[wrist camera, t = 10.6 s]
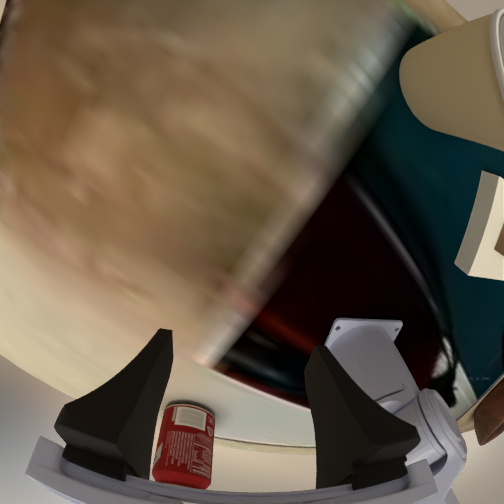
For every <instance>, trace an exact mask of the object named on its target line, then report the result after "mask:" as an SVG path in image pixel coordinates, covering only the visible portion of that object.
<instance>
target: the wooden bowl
mask: <svg viewBox="0 0 504 504" xmlns="http://www.w3.org/2000/svg"><path fill="white" fill-rule="evenodd" d="M474 427H475V432H476V435H477V439H478V442H479V445H484V444H486V443H488V442H489V441H491V440H493V439H494V438H496V437H497V436H498V435H499V434H501V433H502V432H503V431H504V379H503V380H502V381H501V382H500V383H499V384H498V385H497V386H496V387H495V388H494V389H493V391H492V392H491V393H490V394H489V395H488V396H487V397H486V398H485V399H484V400H483V402H482V403H481V404H480V405H479V407H478V408H477V410H476V412H475V416H474Z"/></svg>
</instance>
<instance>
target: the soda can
mask: <svg viewBox="0 0 504 504" xmlns="http://www.w3.org/2000/svg"><path fill="white" fill-rule="evenodd" d="M214 428H215V418H214V416H213V415H212V414H211V413H210V412H209V411H207V410H205V409H203V408H201V407H199V406H196V405H192V404H174V405H170V406H168V407H167V408H166V409H165V410H164V414H163V419H162V423H161V428H160V433H159V438H158V443H157V448H156V453H155V458H154V463H153V469H152V475H153V477H154V479H155V481H156V482H160V483H165V484H170V485H175V486H181V487H188V488H195V489H203V490H206V488H208V486H209V485H210V484H211V473H212V457H213V442H214Z"/></svg>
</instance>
